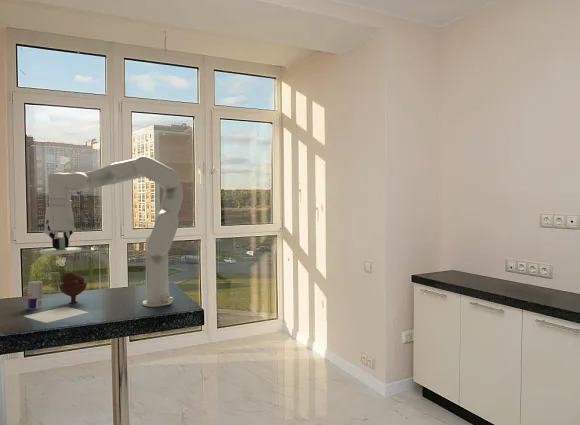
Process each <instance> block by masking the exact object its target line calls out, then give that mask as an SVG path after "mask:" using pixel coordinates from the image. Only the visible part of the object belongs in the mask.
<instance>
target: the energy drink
mask: <svg viewBox="0 0 580 425" xmlns="http://www.w3.org/2000/svg"><path fill="white" fill-rule="evenodd" d="M43 292H44V290H43V281H42V280H32V281H31V280H30V281H28V282H27V308H28V310H38V309H39V310H40V309H42V308H43V307H44V297H43V294H44V293H43Z"/></svg>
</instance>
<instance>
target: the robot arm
mask: <svg viewBox="0 0 580 425" xmlns="http://www.w3.org/2000/svg"><path fill="white" fill-rule="evenodd" d="M141 178H147V179H148V180H150V181H152V182H154V183H156V184H158V185H159V187H160V188H162V191H163V195H162V199H161V202H160V205H159V206H158V207H159V208H158V210H157V212H156V214H155V216H154V225H153V228H152V230H151V233H150V234H149V235H148V236H147V237H146V239H145V241H144V251H145V252H144V254H145V300H143V301H142V305H143V306H144V307H148V308H149V307H150V308H155V307H156V308H157V307H165V306H168V305H171V304H173V300H174V297H173V296H171V294H170V293H169V256H168V253H169V251H170V249H171V248H172V244H173V241H174V239H175V236H176V233H177V230H178V228H179V223H180V221H179V217H178V215H179V213H180V208H181V205H182V203H183V198H184V191H183V185H182V183H181V181H180V176H179V173H178V172H177V171H176V170H175V169H173V168H171V167H169V166H168V165H166V164H164V163H162V162H160V161H157V160H156V159H155V158H152V157H150V156H147V155H140V156H138V157H136V158H131V159H128V160H122V161H119V162H114V163H113V162H112V163H111V164H108V165H106V166H104V167H101V168H98V169H94V170H91V171H86V172H69V173H66V172H51V173H49V174H48V176H47V184H48V186H47V187H48V188H47V190H48V206H47V207H46V209H45V214H44V229H43V231H42V233H43V234H45V235H47V236H48V237H50V239H51V243H52V248H54V249H59V239H57V238H58V237H59V232H62V237H65V248H68V247H69V245H70V242H69V241H70V240H69V239H71V238H70V237H71V235H73V233H75V232H76V231H77V228H76V226H75V218H74V213H73V212H74V211H73V208H72V206H71V204H73V200H72V199H71V198H70V196H71V195H70V191H76V192H77V191H79V192H82V191H83V192H84V191H88V190H89V191H90V190H93V189H97V188H100V187H104V186H109V185H116V184H121V183H123V182H124V183H125V182H129V181H132V180H137V179H141Z"/></svg>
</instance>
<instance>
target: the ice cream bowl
mask: <svg viewBox="0 0 580 425" xmlns="http://www.w3.org/2000/svg"><path fill="white" fill-rule="evenodd" d="M61 276H62V277H61V281H62V282H61V283H60V284H58V287H59V290H60V292H61V293H63V294H64V295H66V296H69V297H70V298H71V299H70V302H68V304H69V305H75V304H79V301H77V299H76V298H77V296H78V295H80V294H81V293H83V292H84V291H85V289H86V288H87V285H88V282H86V281H85V279H84V277H83V276H82V275H80V274H77V273H75V271H67V272H64V274H62V275H61Z"/></svg>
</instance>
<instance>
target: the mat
mask: <svg viewBox="0 0 580 425" xmlns="http://www.w3.org/2000/svg"><path fill="white" fill-rule="evenodd" d="M89 313H90V311H86V310H82V309H76V308H72V307H69V306H62V307H58V308H54V309H50V310H45V311H44V310H43V311H41V312H37V313H32V314H26V315H23V316H22V317H24V318H27V319H31V320H33V321H38V322H41V323H45V324H47V323H52V322H56V321H61V320H64V319H68V318H72V317H76V316H77V317H78V316H81V315H84V314H89Z"/></svg>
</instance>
